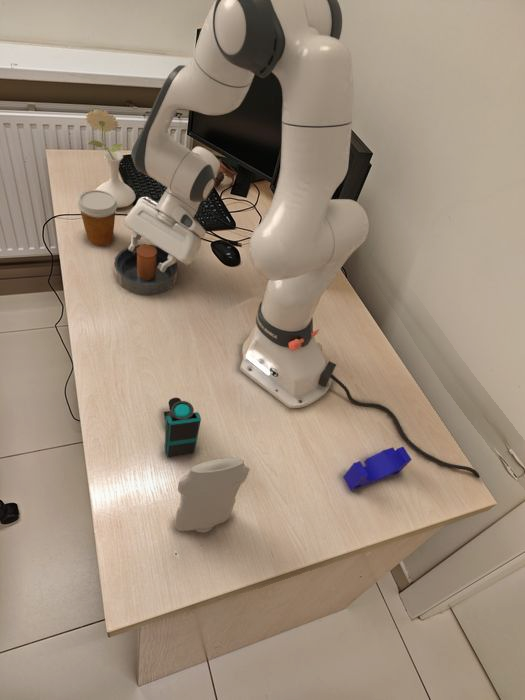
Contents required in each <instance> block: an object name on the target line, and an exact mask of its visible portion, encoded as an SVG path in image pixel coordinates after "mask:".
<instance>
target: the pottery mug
mask: <svg viewBox="0 0 525 700" xmlns="http://www.w3.org/2000/svg"><path fill="white" fill-rule="evenodd" d="M217 159H218V161H219V163H220V168H219V171H218V174H217V176H216V178H215V180H216V183H215V186H214V188H219V187H220V185H221V184H222V182H223V181H224V180H225V176H226V177H228V178H230V179H231V180H232V181H231V183H230V186H231V187H232V186H233V185H234V182H235V175H236V174H237V173H236V170H235V169H234V168H233V167H232V166H231V165H230V164H229V163H227V162H226V161H225V160H223V159H221V158H217Z"/></svg>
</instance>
